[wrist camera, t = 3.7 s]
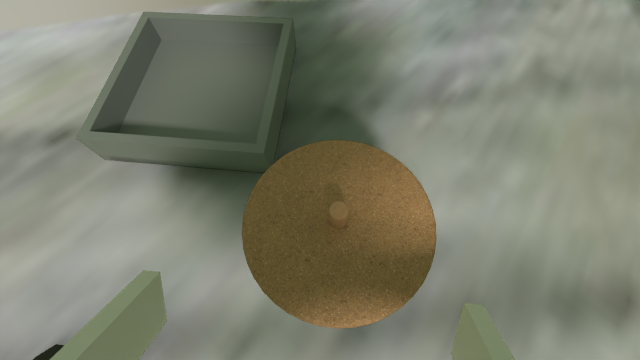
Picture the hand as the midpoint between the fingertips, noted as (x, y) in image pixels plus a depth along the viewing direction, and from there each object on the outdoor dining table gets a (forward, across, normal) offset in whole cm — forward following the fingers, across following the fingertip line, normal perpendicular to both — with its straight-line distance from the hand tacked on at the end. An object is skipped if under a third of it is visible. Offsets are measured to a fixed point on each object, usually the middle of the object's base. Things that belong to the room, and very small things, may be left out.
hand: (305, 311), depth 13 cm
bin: (+20, -13, +7) cm, 25 cm away
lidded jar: (+10, +1, -3) cm, 11 cm away
